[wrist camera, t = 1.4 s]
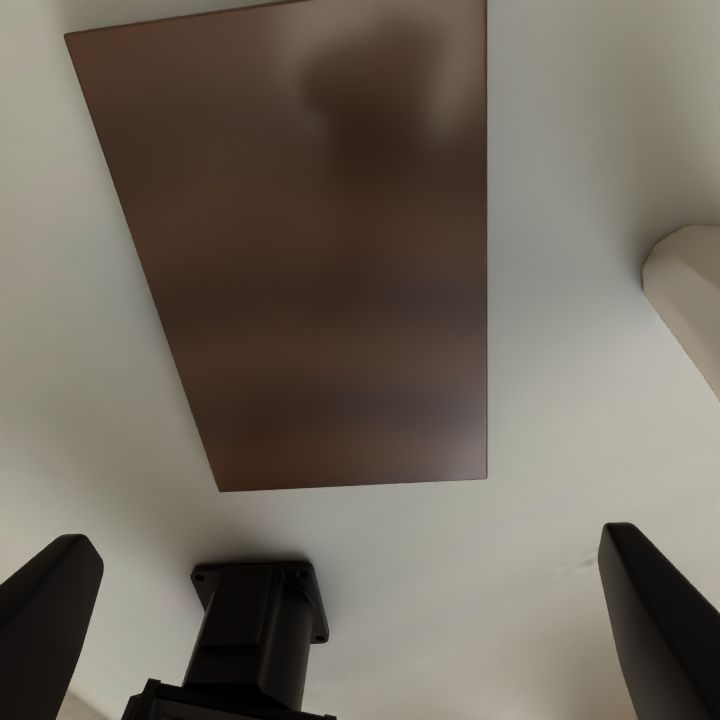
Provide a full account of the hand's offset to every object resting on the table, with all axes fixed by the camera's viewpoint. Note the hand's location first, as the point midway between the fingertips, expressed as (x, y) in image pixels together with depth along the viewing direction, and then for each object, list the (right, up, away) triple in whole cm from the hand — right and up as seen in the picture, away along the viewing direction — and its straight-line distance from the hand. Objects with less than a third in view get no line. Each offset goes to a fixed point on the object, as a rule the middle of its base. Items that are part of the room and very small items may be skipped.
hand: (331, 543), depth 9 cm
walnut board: (-1, +6, +11) cm, 12 cm away
